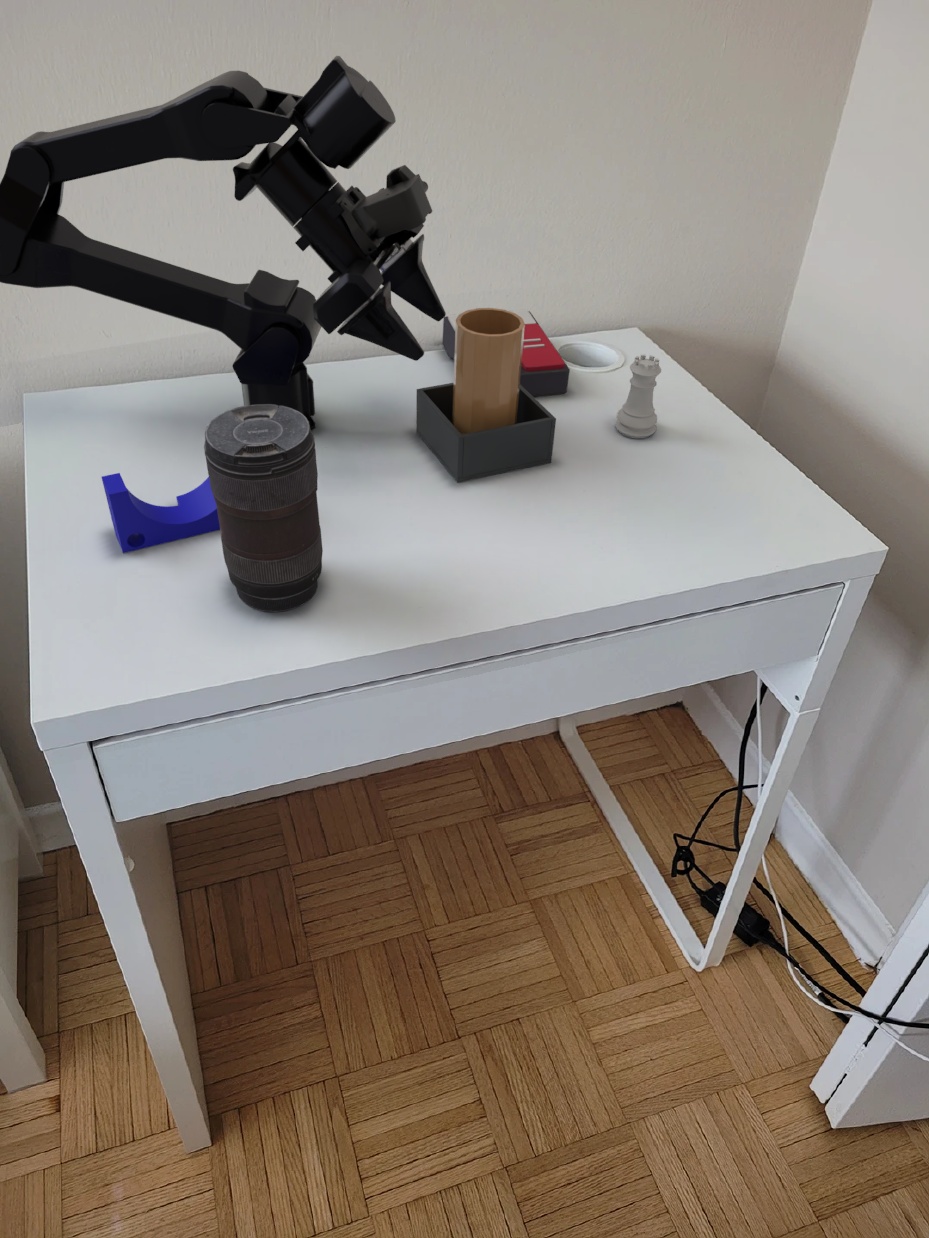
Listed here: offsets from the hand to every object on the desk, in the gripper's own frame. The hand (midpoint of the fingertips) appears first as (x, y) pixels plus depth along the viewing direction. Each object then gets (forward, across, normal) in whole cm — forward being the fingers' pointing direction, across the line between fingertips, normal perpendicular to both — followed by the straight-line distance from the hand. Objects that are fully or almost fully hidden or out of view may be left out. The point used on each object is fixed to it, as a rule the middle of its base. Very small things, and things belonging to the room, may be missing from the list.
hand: (432, 337), depth 91 cm
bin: (+12, 0, +4) cm, 13 cm away
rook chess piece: (+23, +8, -7) cm, 25 cm away
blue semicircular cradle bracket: (-4, -20, +21) cm, 29 cm away
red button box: (+11, +18, +5) cm, 22 cm away
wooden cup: (+12, 0, +4) cm, 12 cm away
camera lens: (+3, -27, +13) cm, 30 cm away
